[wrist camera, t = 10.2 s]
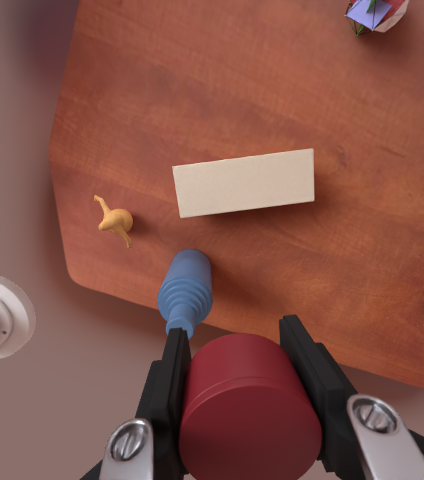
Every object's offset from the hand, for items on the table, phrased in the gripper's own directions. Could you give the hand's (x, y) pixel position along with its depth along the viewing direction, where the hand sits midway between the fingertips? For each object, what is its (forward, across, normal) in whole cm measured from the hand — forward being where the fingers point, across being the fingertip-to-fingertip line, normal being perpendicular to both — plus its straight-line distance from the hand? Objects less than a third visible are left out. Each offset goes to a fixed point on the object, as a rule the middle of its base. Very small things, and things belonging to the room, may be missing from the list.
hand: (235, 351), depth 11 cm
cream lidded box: (+30, -5, -7) cm, 31 cm away
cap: (-4, 0, 0) cm, 4 cm away
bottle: (+30, +5, +7) cm, 31 cm away
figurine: (+30, +14, -4) cm, 33 cm away
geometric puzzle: (+30, -24, -28) cm, 47 cm away
